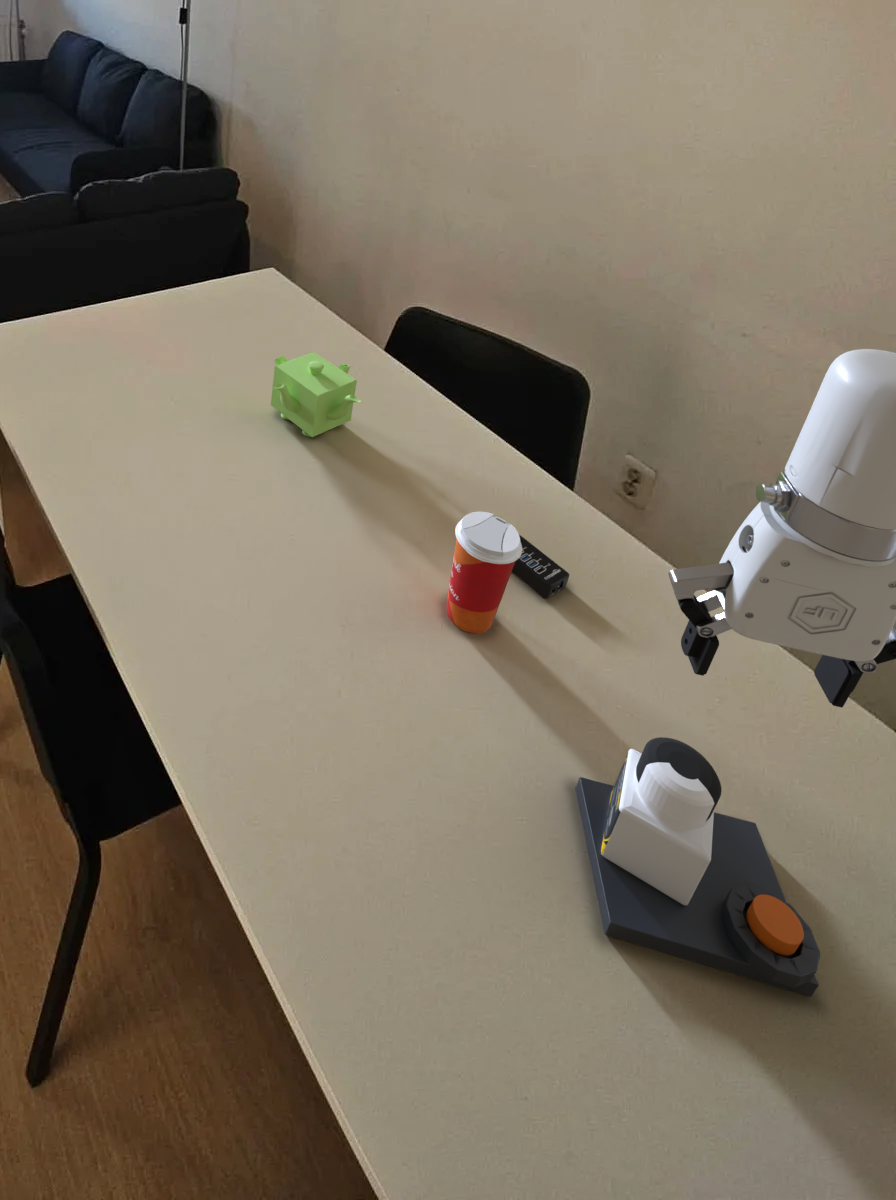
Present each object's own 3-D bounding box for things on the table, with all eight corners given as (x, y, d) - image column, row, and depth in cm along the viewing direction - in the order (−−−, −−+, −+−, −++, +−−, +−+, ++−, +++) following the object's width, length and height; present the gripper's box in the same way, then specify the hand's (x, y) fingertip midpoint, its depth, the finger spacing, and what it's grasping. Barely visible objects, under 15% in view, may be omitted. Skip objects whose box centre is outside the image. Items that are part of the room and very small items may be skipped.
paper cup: (455, 581, 105) (475, 499, 100) (511, 616, 100) (535, 532, 95) (425, 614, 100) (445, 530, 95) (483, 653, 95) (506, 566, 90)
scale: (752, 835, 77) (764, 813, 76) (818, 1009, 65) (834, 987, 64) (575, 788, 81) (583, 766, 79) (606, 945, 69) (617, 922, 67)
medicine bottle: (610, 792, 79) (643, 711, 74) (693, 838, 75) (733, 756, 70) (599, 856, 73) (634, 773, 69) (687, 909, 70) (730, 826, 65)
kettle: (353, 452, 129) (362, 395, 125) (267, 441, 131) (272, 385, 127) (348, 399, 143) (356, 346, 138) (270, 390, 145) (276, 338, 140)
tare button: (785, 912, 69) (792, 901, 68) (804, 962, 65) (812, 950, 65) (739, 900, 69) (746, 888, 69) (756, 947, 66) (763, 936, 66)
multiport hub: (499, 533, 114) (503, 521, 113) (567, 587, 105) (571, 574, 104) (478, 543, 112) (482, 531, 111) (545, 599, 103) (549, 586, 102)
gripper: (724, 523, 56) (656, 688, 62) (1016, 578, 52) (909, 748, 59) (689, 457, 62) (631, 613, 69) (945, 502, 59) (857, 662, 65)
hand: (759, 675), depth 64 cm, fingers open, 9 cm apart
